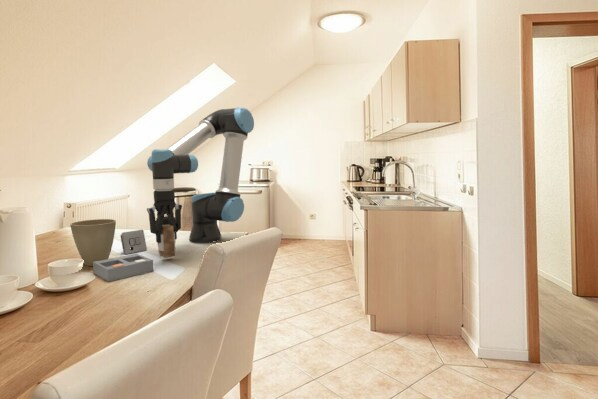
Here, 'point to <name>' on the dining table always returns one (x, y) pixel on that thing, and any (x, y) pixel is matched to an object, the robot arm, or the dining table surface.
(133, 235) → the electrical switch
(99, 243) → the plant pot
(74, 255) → the dining table surface
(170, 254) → the plug
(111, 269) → the grey compartment tray
